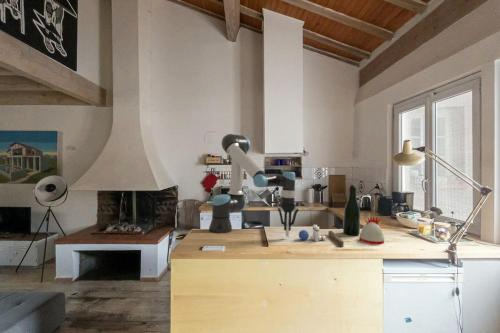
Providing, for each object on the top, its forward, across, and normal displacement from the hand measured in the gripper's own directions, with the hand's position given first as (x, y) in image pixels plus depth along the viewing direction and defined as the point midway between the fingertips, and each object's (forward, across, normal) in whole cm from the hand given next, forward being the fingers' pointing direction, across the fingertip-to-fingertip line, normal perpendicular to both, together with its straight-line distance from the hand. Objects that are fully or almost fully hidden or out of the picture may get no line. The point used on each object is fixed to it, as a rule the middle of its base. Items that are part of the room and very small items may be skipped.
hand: (287, 235), depth 168 cm
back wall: (+2, +29, 0) cm, 29 cm away
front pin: (+1, +14, 0) cm, 14 cm away
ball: (-1, +10, -1) cm, 10 cm away
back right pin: (+2, +17, -2) cm, 18 cm away
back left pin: (+2, +17, +2) cm, 18 cm away
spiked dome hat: (+2, +52, +3) cm, 52 cm away
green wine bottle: (+2, +45, +18) cm, 49 cm away
